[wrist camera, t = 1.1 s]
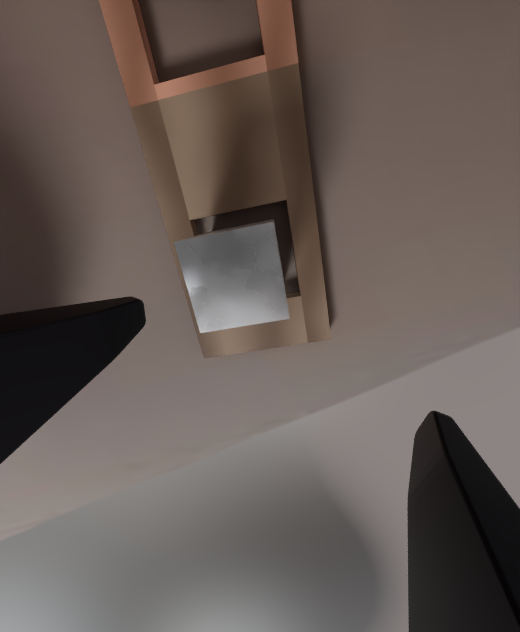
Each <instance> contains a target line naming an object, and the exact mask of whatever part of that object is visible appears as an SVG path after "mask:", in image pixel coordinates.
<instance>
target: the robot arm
mask: <svg viewBox="0 0 520 632" xmlns="http://www.w3.org/2000/svg"><path fill="white" fill-rule="evenodd" d="M145 322H146V318H145V310H144V304H143V302H142V301H141V300H140V299H137V298H135V297H123V298H116V299H109V300H102V301H95V302H88V303H81V304H74V305H67V306H60V307H53V308H46V309H39V310H31V311H24V312H17V313H10V314H3V315H0V464H1V463H2V462H3V461H4V460H5V459H6V458H8V457H9V456H10V455H11V454H12V453H13V452H14V451H15V450H16V449H17V448H18V447H19V446H21V445H22V444H23V443H24V442H25V441H26V440H27V439H28V438H29V437H30V436H31V435H33V434H34V433H35V432H36V431H37V430H38V429H39V428H40V427H41V426H42V425H43V424H45V423H46V422H47V421H48V420H49V419H50V418H51V417H52V416H53V415H54V414H55V413H56V412H58V411H59V410H60V409H61V408H62V407H63V406H64V405H65V404H66V403H67V402H68V401H70V400H71V399H72V398H73V397H74V396H75V395H76V394H77V393H78V392H79V391H80V390H82V389H83V388H84V387H85V386H86V385H87V384H88V383H89V382H90V381H91V380H92V379H93V378H95V377H96V376H97V375H98V374H99V373H100V372H101V371H102V370H103V369H104V368H105V367H107V366H108V365H109V364H110V363H111V362H112V361H113V360H114V359H115V358H116V357H117V356H118V355H119V354H120V353H121V351H122V350H123V349H124V348H125V347H126V346H127V345H128V344H129V343H130V341H131V340H132V339H133V338H134V337H135V336H136V335H137V334H138V333H139V332H140V330H141V329H142V328H143V327H144V325H145ZM408 601H409V603H408V604H409V605H408V606H409V632H520V508H519V507H518V506H517V504H516V503H515V502H514V500H513V499H512V498H511V496H510V495H509V494H508V492H507V491H506V490H505V488H504V487H503V486H502V484H501V483H500V482H499V480H498V479H497V478H496V476H495V475H494V473H493V472H492V471H491V470H490V468H489V467H488V465H487V464H486V463H485V462H484V460H483V459H482V457H481V456H480V455H479V453H478V452H477V451H476V449H475V448H474V447H473V445H472V444H471V443H470V441H469V440H468V439H467V437H466V436H465V435H464V433H463V432H462V431H461V429H460V428H459V427H458V425H457V424H456V423H455V421H454V420H453V419H452V418H451V417H450V416H448V415H445V414H442V413H440V412H437V411H431V412H430V413H429V414H428V415H427V417H426V418H425V419H424V421H423V423H422V424H421V425H420V427H419V428H418V430H417V432H416V434H415V438H414V446H413V455H412V463H411V472H410V481H409V490H408Z"/></svg>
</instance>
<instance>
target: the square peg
mask: <svg viewBox="0 0 520 632" xmlns="http://www.w3.org/2000/svg"><path fill="white" fill-rule="evenodd" d="M174 245H175V248H176V251H177V255H178V258H179V262H180V265H181V269H182V272H183V276H184V279H185V283H186V286H187V289H188V293H189V296H190V300H191V303H192V307H193V310H194V314H195V317H196V321H197V324H198V327H199V331H200V333H205V332H211V331H217V330H223V329H229V328H236V327H242V326H248V325H254V324H260V323H266V322H273V321H279V320H285V319H290V317H289V310H288V303H287V296H286V289H285V283H284V276H283V270H282V264H281V258H280V252H279V246H278V240H277V234H276V228H275V222H274V219H270V220H265V221H260V222H255V223H250V224H245V225H240V226H236V227H231V228H226V229H221V230H216V231H211V232H208V233H204V234H200V235H197V236H193V237H189V238H186V239H182V240H179V241H175V242H174Z"/></svg>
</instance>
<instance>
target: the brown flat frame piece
mask: <svg viewBox="0 0 520 632" xmlns="http://www.w3.org/2000/svg"><path fill="white" fill-rule="evenodd" d="M99 3H100V6H101V9H102V13H103V16H104V20H105V23H106V26H107V30H108V33H109V37H110V40H111V43H112V47H113V50H114V54H115V57H116V60H117V64H118V67H119V71H120V74H121V77H122V81H123V84H124V88H125V91H126V94H127V98H128V101H129V105H130V108H131V111H132V115H133V118H134V122H135V125H136V128H137V132H138V135H139V139H140V142H141V145H142V149H143V152H144V156H145V159H146V162H147V166H148V169H149V173H150V176H151V179H152V183H153V186H154V190H155V193H156V196H157V200H158V203H159V207H160V210H161V213H162V217H163V220H164V224H165V227H166V230H167V234H168V237H169V241H170V244H171V247H172V251H173V254H174V258H175V261H176V265H177V268H178V271H179V275H180V278H181V282H182V285H183V288H184V292H185V295H186V299H187V302H188V305H189V309H190V312H191V316H192V319H193V322H194V326H195V329H196V333H197V336H198V339H199V343H200V346H201V350H202V353H203V356H204V358H210V357H217V356H223V355H230V354H236V353H243V352H250V351H256V350H263V349H270V348H276V347H283V346H289V345H296V344H303V343H309V342H316V341H322V340H329V339H331V334H330V326H329V317H328V309H327V300H326V292H325V283H324V275H323V266H322V258H321V249H320V241H319V232H318V224H317V215H316V207H315V198H314V190H313V181H312V173H311V164H310V156H309V147H308V139H307V130H306V122H305V113H304V105H303V97H302V88H301V80H300V71H299V63H298V54H297V46H296V37H295V29H294V20H293V12H292V3H291V0H256V5H257V12H258V19H259V25H260V32H261V39H262V45H263V52H264V55H261V56H258V57H254V58H250V59H247V60H243V61H239V62H236V63H232V64H228V65H225V66H221V67H217V68H213V69H210V70H206V71H202V72H199V73H195V74H191V75H188V76H184V77H180V78H177V79H173V80H169V81H166V82H162V83H159V80H158V76H157V72H156V68H155V64H154V60H153V56H152V53H151V49H150V45H149V41H148V37H147V33H146V29H145V25H144V22H143V18H142V14H141V10H140V6H139V2H138V0H99ZM285 200H286V205H287V212H288V218H289V225H290V232H291V238H292V245H293V252H294V258H295V265H296V272H297V278H298V285H299V292H294V293H288V294H286V296H287V303H288V310H289V317H290V319H285V320H279V321H273V322H266V323H260V324H254V325H248V326H242V327H236V328H229V329H223V330H217V331H211V332H205V333H200V331H199V327H198V324H197V321H196V317H195V314H194V310H193V307H192V303H191V300H190V296H189V293H188V289H187V286H186V283H185V279H184V276H183V272H182V269H181V265H180V262H179V258H178V255H177V251H176V248H175V245H174V242H175V241H179V240H182V239H186V238H189V237H193V236H197V235H198V231H197V227H196V223H195V219H200V218H205V217H209V216H214V215H219V214H224V213H228V212H233V211H238V210H243V209H247V208H252V207H257V206H262V205H266V204H271V203H276V202H281V201H285Z"/></svg>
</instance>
